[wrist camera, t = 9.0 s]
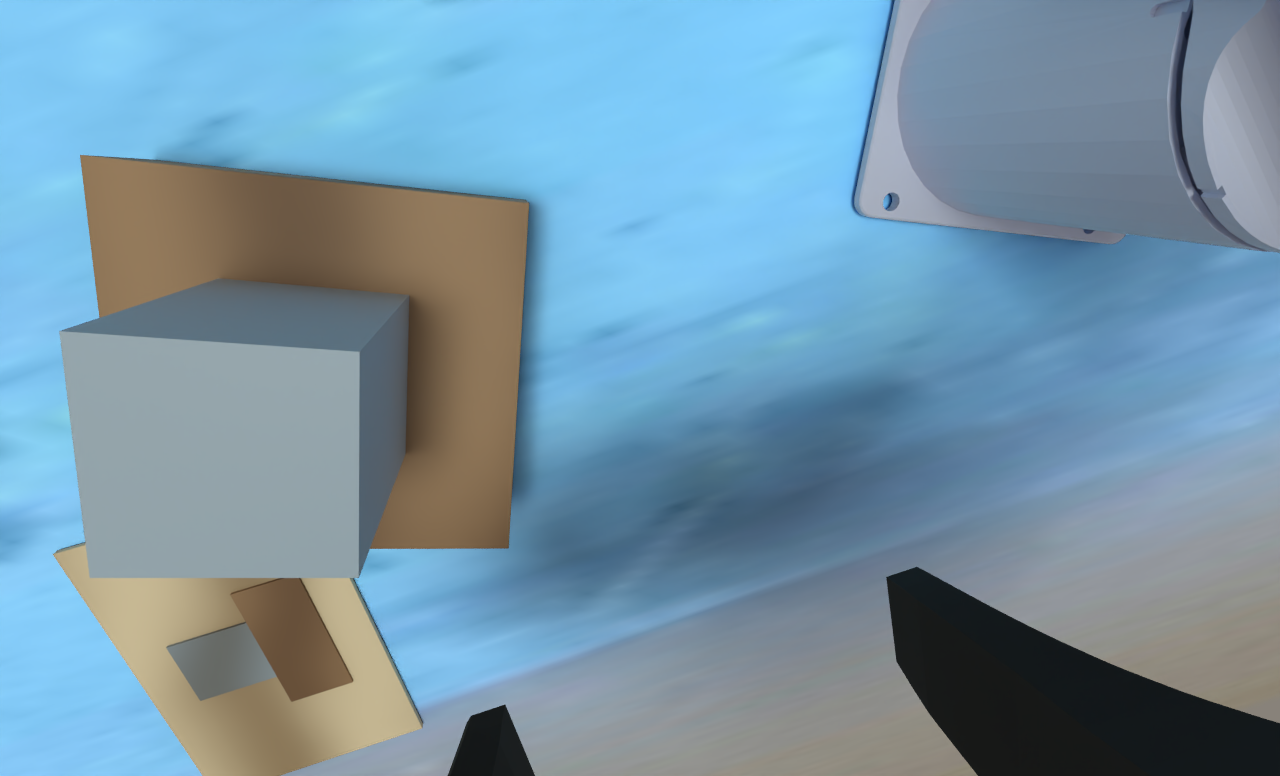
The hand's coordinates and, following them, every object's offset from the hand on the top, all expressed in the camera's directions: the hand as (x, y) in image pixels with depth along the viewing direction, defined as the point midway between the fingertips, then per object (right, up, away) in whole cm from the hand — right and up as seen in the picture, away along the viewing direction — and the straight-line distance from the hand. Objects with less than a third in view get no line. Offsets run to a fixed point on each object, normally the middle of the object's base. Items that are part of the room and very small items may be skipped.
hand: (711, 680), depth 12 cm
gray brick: (-9, +6, +4) cm, 11 cm away
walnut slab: (-9, +6, +7) cm, 13 cm away
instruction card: (-13, -3, +9) cm, 16 cm away
